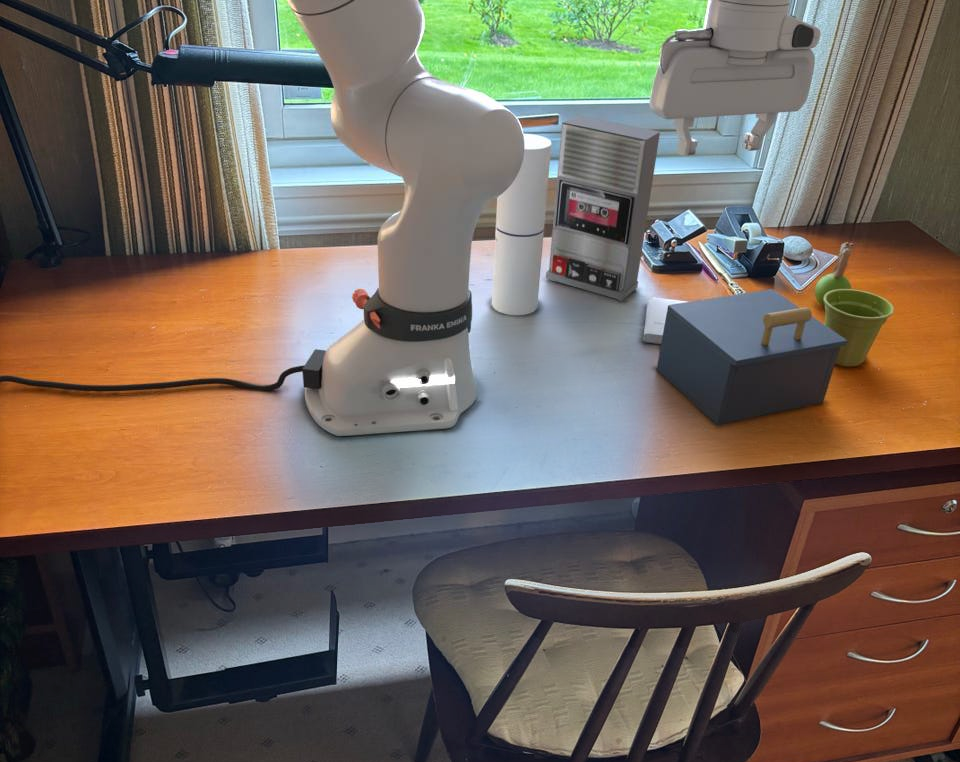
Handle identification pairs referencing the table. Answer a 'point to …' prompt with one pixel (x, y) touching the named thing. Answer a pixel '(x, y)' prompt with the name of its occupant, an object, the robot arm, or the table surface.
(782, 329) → the lid
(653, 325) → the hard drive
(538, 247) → the cylindrical container
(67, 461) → the table surface
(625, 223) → the cassette tape recorder
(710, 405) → the chest
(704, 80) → the robot arm
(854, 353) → the plant pot
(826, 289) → the green maraca
